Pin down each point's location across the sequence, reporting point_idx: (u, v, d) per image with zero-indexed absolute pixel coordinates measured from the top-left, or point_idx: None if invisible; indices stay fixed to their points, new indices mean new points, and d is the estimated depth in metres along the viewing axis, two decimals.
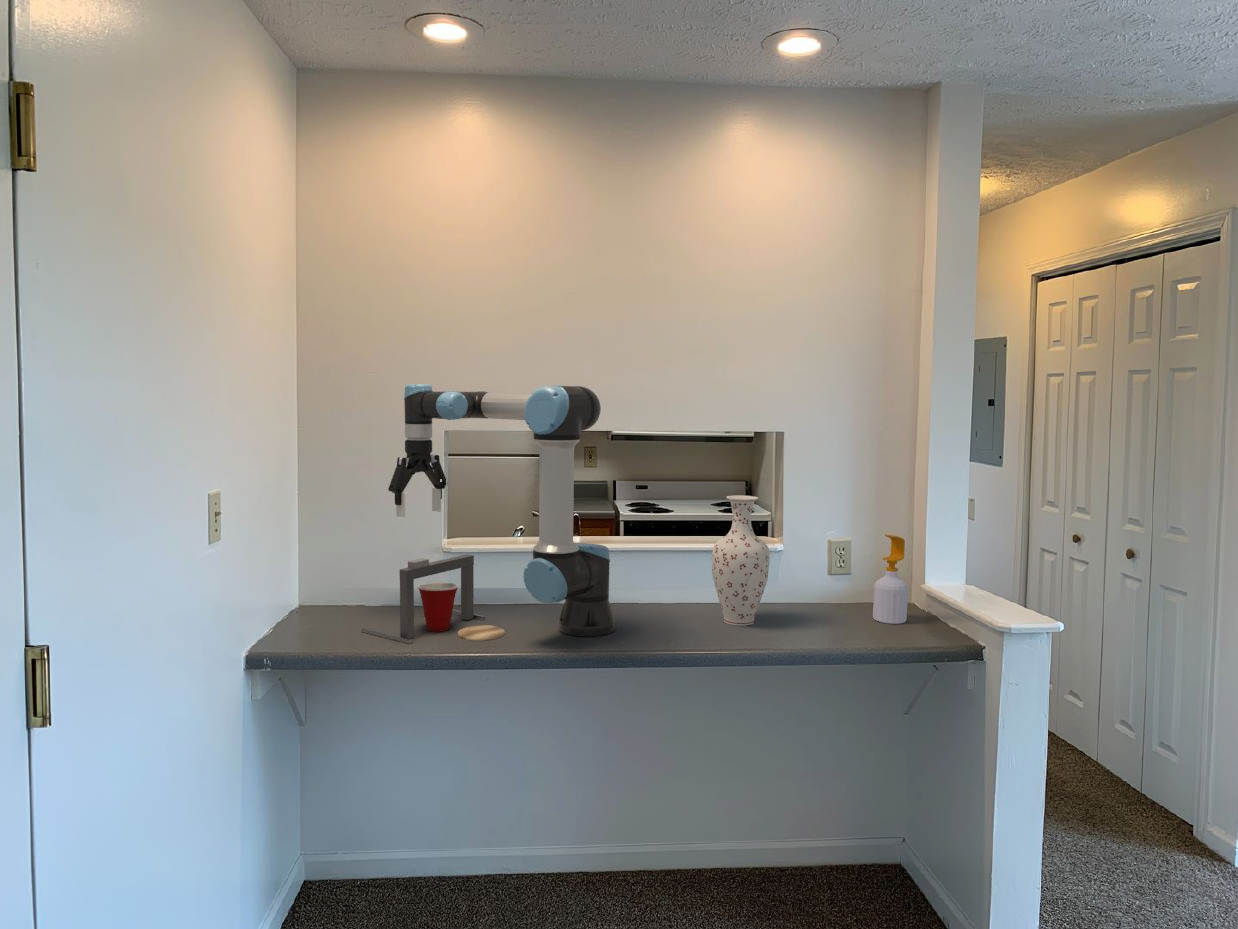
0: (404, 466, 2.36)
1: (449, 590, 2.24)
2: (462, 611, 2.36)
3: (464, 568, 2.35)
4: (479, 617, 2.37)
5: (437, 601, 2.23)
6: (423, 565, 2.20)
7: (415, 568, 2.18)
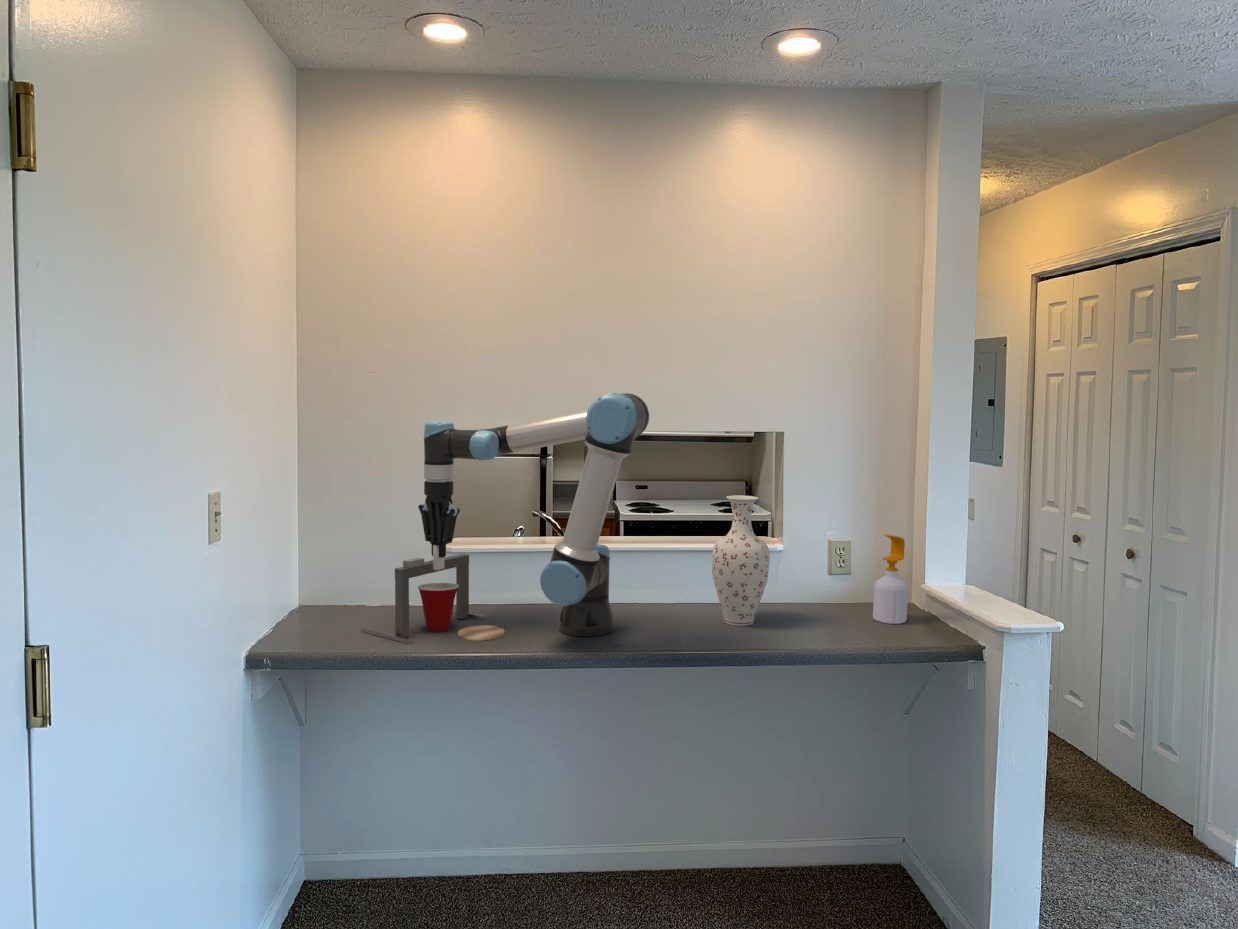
0: (422, 513, 2.27)
1: (449, 590, 2.24)
2: (457, 610, 2.37)
3: (459, 567, 2.36)
4: (479, 617, 2.37)
5: (437, 601, 2.23)
6: (418, 564, 2.21)
7: (410, 567, 2.19)
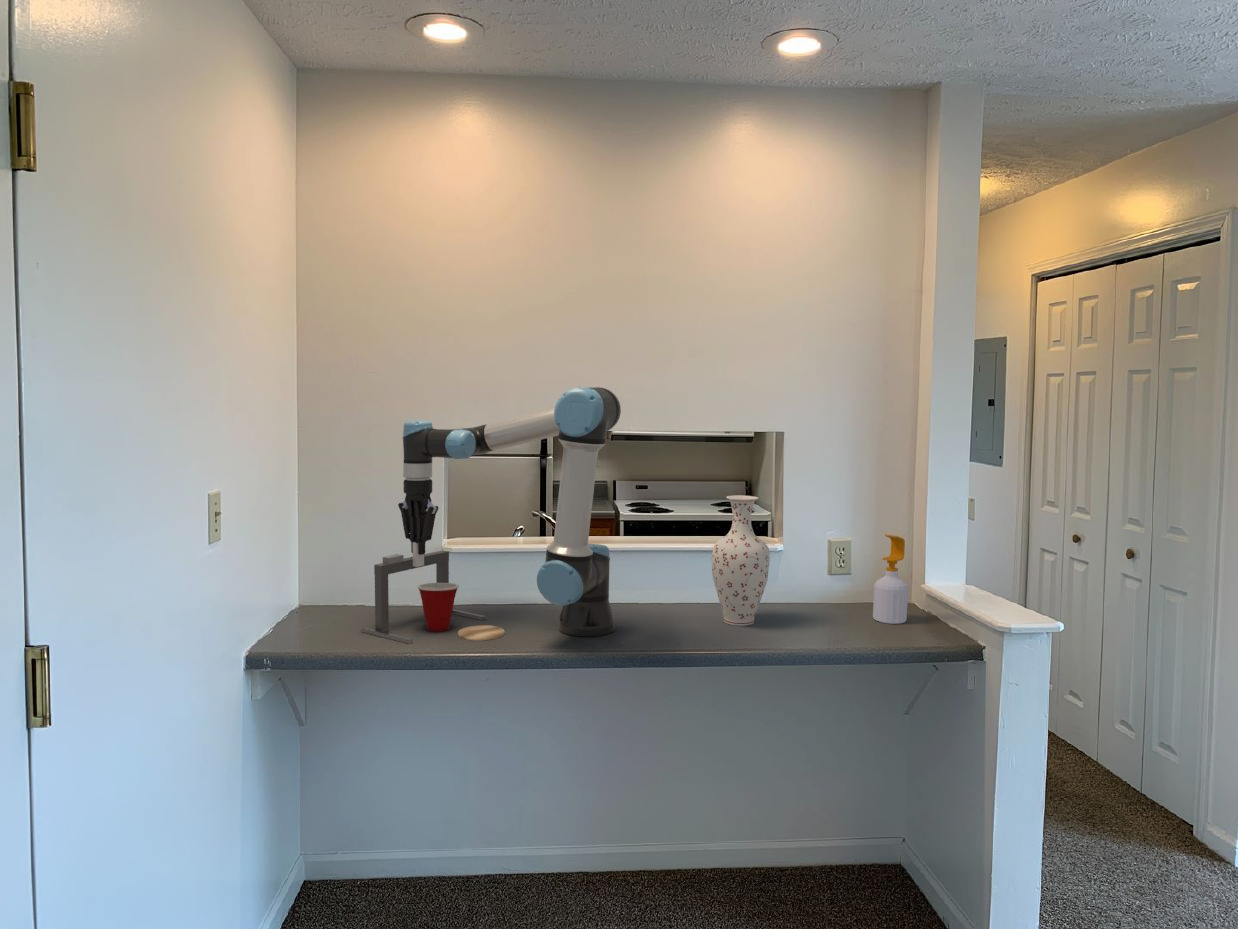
0: (402, 511, 2.31)
1: (449, 590, 2.24)
2: None
3: (439, 564, 2.40)
4: (479, 617, 2.37)
5: (437, 601, 2.23)
6: (398, 560, 2.26)
7: (390, 563, 2.24)
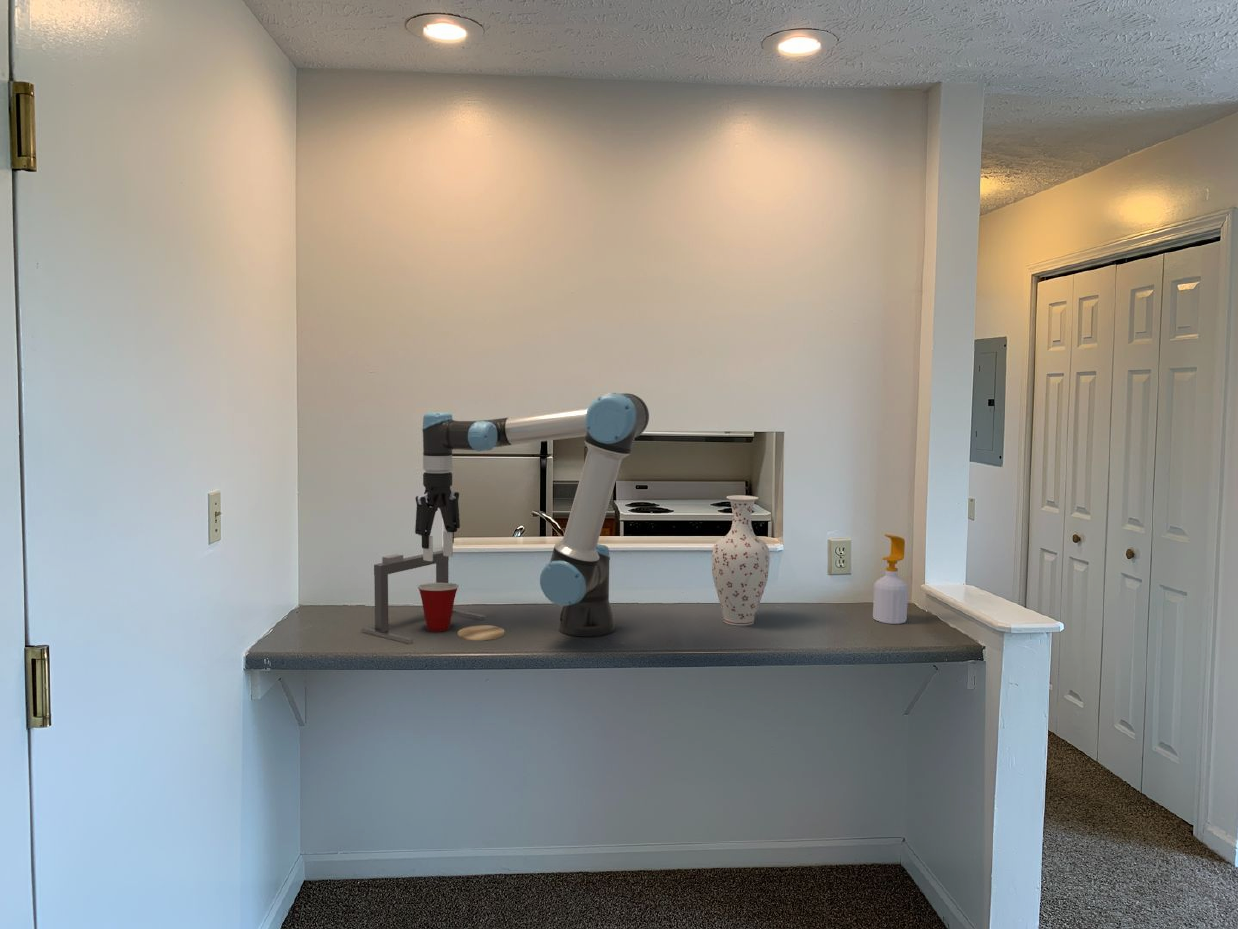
0: (425, 505, 2.20)
1: (449, 590, 2.24)
2: None
3: (439, 564, 2.40)
4: (479, 617, 2.37)
5: (437, 601, 2.23)
6: (397, 560, 2.26)
7: (389, 563, 2.24)
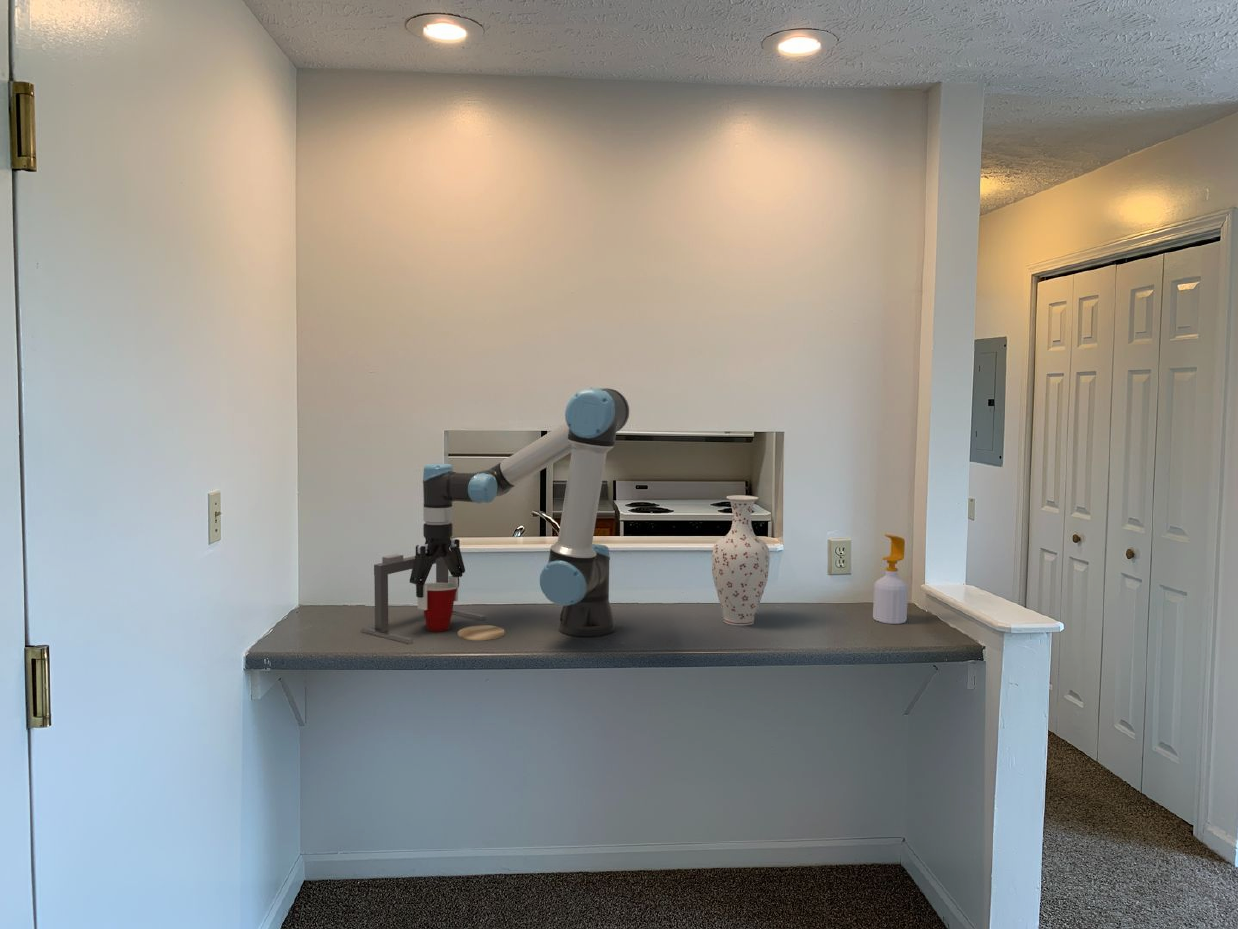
0: (424, 555, 2.20)
1: (449, 590, 2.24)
2: None
3: (439, 564, 2.40)
4: (479, 617, 2.37)
5: (437, 601, 2.23)
6: (397, 560, 2.26)
7: (389, 563, 2.24)
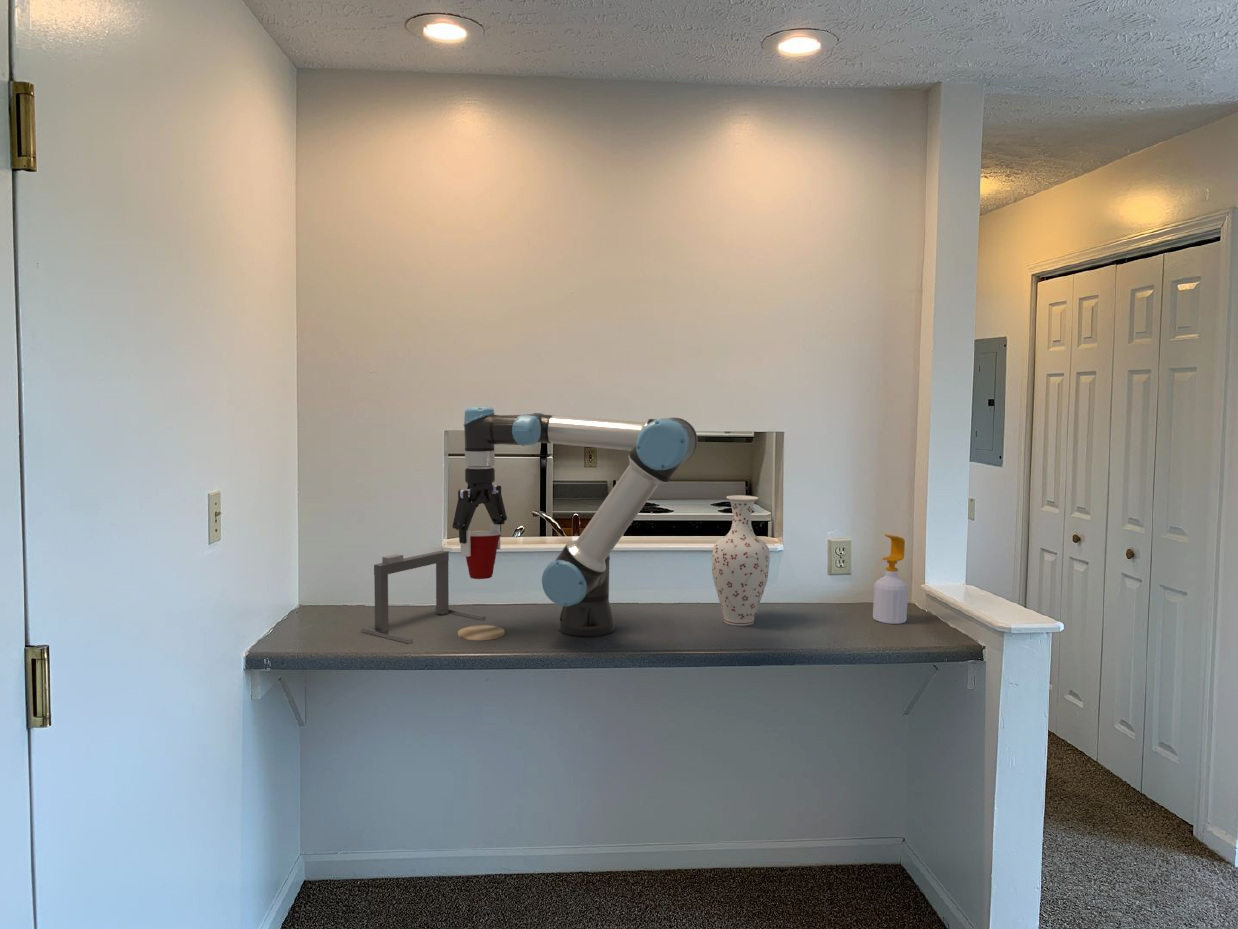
0: (466, 499, 2.15)
1: (492, 536, 2.18)
2: (437, 606, 2.42)
3: (439, 564, 2.40)
4: (479, 617, 2.37)
5: (481, 547, 2.17)
6: (397, 560, 2.26)
7: (389, 563, 2.24)
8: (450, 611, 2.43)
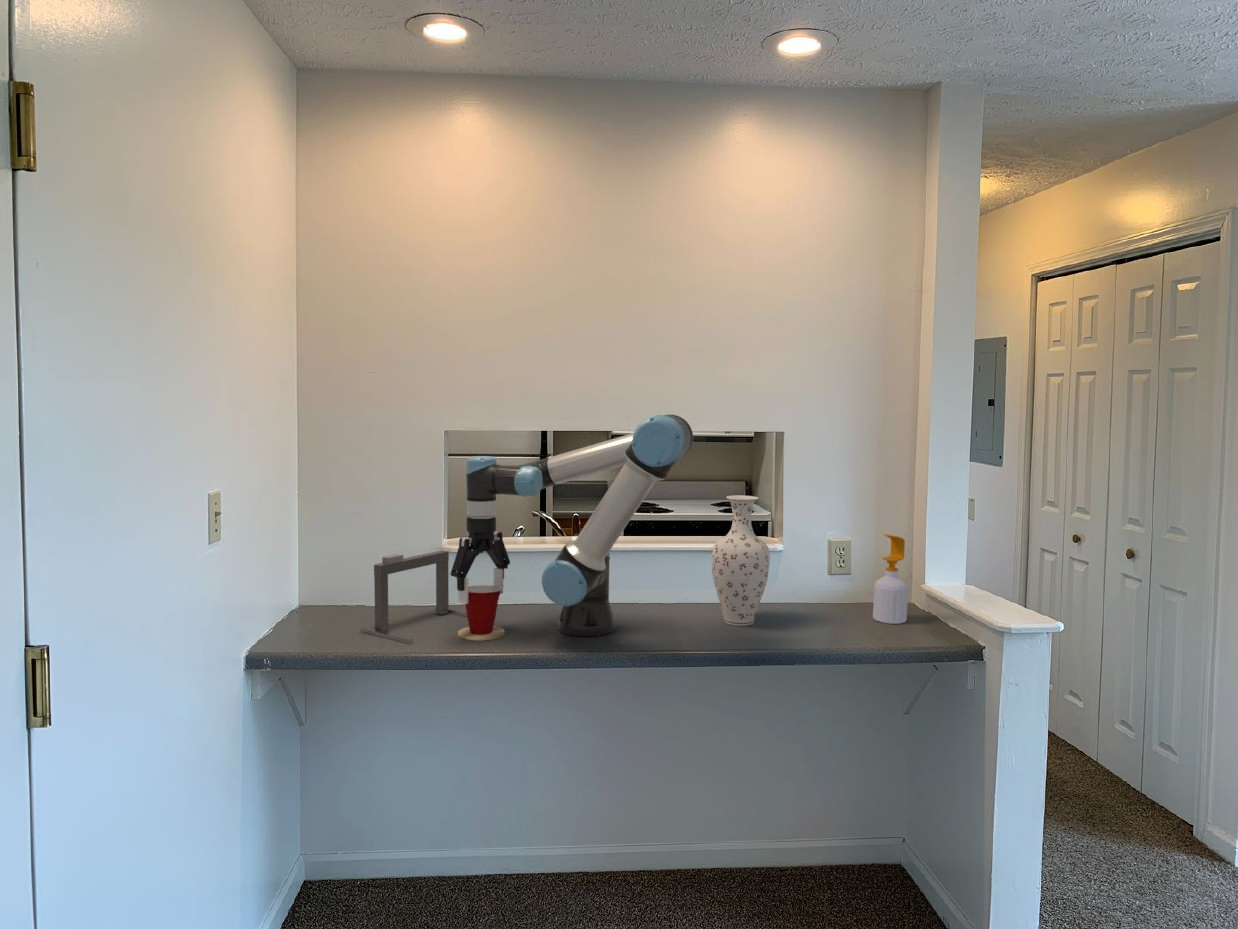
0: (467, 548, 2.16)
1: (493, 592, 2.19)
2: (437, 606, 2.42)
3: (439, 564, 2.40)
4: None
5: (482, 603, 2.19)
6: (397, 560, 2.26)
7: (389, 563, 2.24)
8: (450, 611, 2.43)
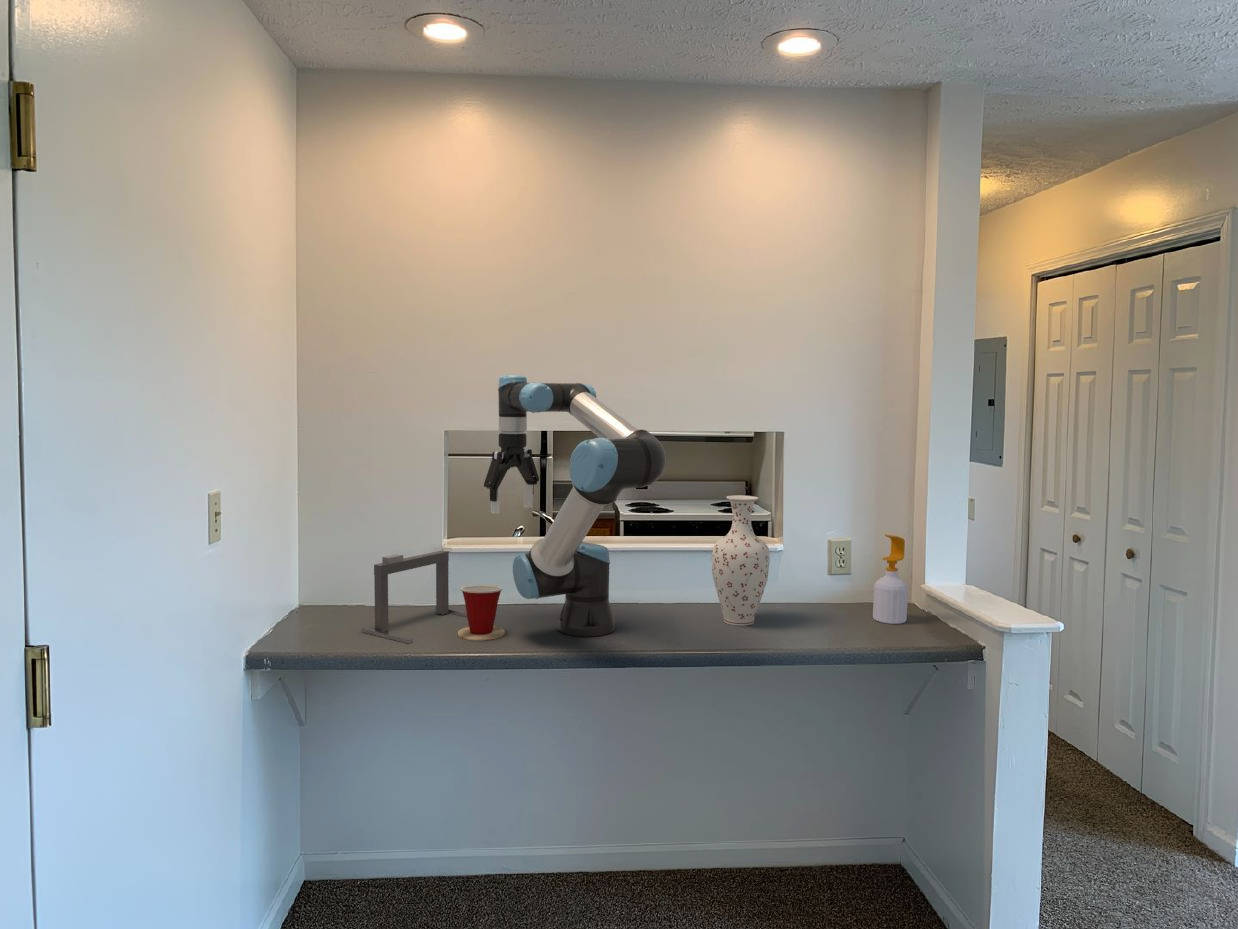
0: (500, 461, 2.26)
1: (493, 592, 2.19)
2: (437, 606, 2.42)
3: (439, 564, 2.40)
4: None
5: (482, 603, 2.19)
6: (397, 560, 2.26)
7: (389, 563, 2.24)
8: (450, 611, 2.43)
